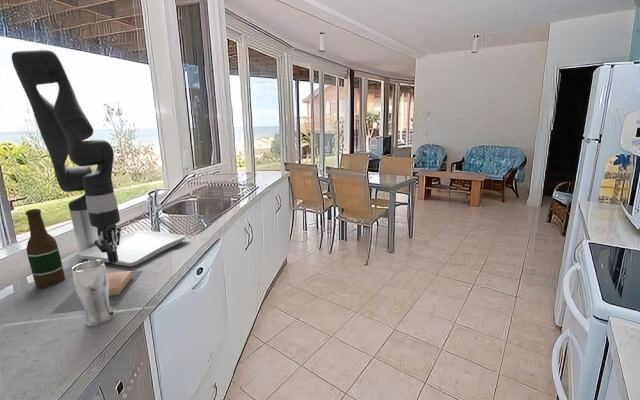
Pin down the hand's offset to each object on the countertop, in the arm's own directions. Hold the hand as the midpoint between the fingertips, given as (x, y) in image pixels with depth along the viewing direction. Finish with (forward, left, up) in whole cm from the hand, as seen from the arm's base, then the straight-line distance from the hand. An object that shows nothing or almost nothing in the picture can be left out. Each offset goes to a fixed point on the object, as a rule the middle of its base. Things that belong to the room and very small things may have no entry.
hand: (113, 262), depth 102 cm
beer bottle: (-5, -21, -7) cm, 23 cm away
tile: (-1, 0, -5) cm, 5 cm away
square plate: (-26, -3, -7) cm, 27 cm away
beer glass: (+21, +4, -7) cm, 23 cm away
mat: (+5, -2, -7) cm, 9 cm away
